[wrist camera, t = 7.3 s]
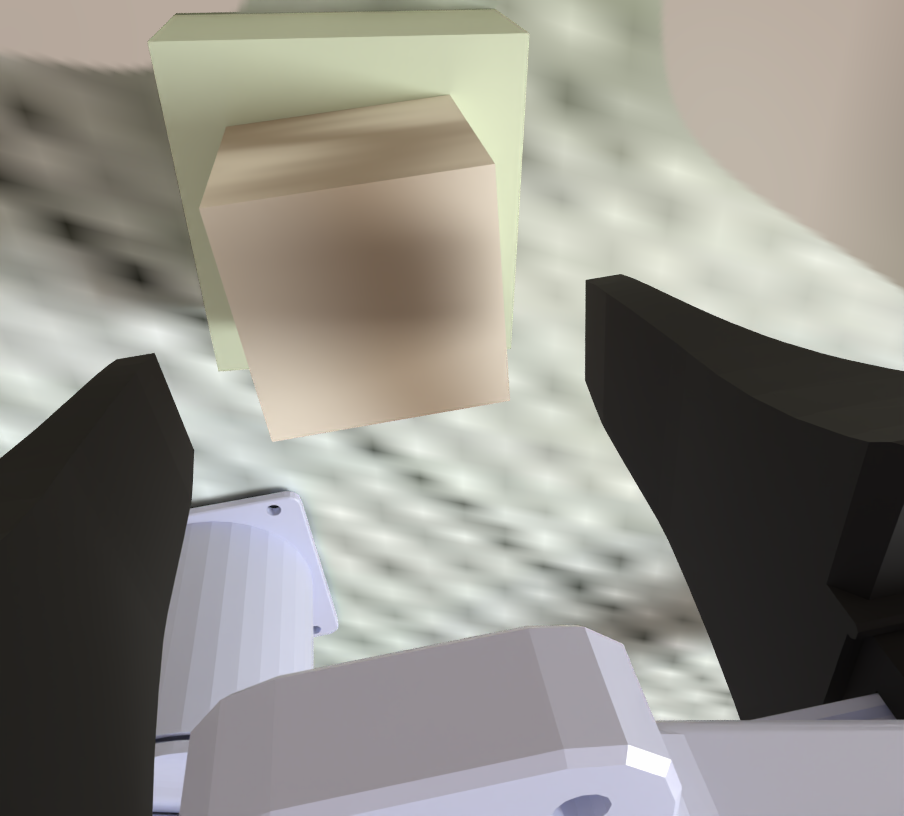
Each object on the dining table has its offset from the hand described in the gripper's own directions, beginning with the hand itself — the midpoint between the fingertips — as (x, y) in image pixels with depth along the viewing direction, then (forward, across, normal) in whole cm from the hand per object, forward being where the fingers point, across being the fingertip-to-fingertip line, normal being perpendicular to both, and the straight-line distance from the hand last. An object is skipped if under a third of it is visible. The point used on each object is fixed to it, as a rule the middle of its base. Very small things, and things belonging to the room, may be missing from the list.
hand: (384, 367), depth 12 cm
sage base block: (+11, 0, 0) cm, 11 cm away
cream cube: (+7, 0, 0) cm, 7 cm away
